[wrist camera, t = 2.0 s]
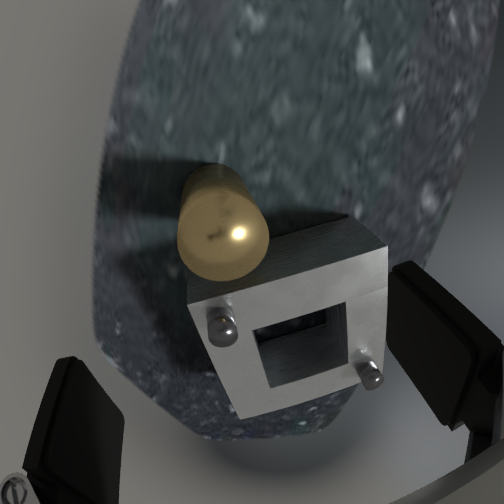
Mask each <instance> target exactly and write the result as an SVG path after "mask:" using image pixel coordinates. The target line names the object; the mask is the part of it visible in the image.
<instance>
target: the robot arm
mask: <svg viewBox="0 0 504 504" xmlns="http://www.w3.org/2000/svg"><path fill="white" fill-rule="evenodd" d="M386 341H387V345H388V348H389V350H390V351H391V352H392V354H393V355H394V357H395V358H396V359H397V361H398V362H399V364H400V365H401V366H402V368H403V369H404V371H405V372H406V373H407V375H408V376H409V378H410V379H411V381H412V382H413V383H414V385H415V386H416V388H417V389H418V391H419V392H420V393H421V395H422V396H423V398H424V399H425V401H426V402H427V404H428V405H429V407H430V408H431V410H432V411H433V412H434V414H435V415H436V417H437V418H438V420H439V421H440V423H441V424H442V425H444V426H446V425H448V426H449V428H450V429H451V431H453V430H455V429H457V428H458V427H460V426H462V425H463V424H465V425H466V426H467V428H468V429H469V431H470V433H469V439H468V445H467V451H466V456H465V461H464V464H463V465H462V466H460V467H458V468H457V469H455V470H453V471H452V472H450V473H448V474H446V475H445V476H443V477H441V478H439V479H437V480H436V481H434V482H432V483H430V484H428V485H426V486H425V487H423V488H421V489H419V490H417V491H415V492H413V493H411V494H409V495H407V496H405V497H403V498H400V499H398V500H396V501H394V502H392V503H390V504H504V346H503V345H502V344H501V340H500V339H499V338H498V337H497V336H496V335H495V334H494V333H493V332H492V331H491V330H490V329H488V327H486V326H485V325H484V324H483V323H482V322H481V321H480V320H479V319H478V318H477V317H476V316H475V315H474V314H473V313H471V312H470V311H469V310H468V309H467V308H466V307H465V306H464V305H463V304H462V303H461V302H459V301H458V300H457V299H456V298H455V297H454V296H453V295H452V294H450V293H449V292H448V291H447V290H446V289H445V288H444V287H443V286H442V285H440V284H439V283H438V282H437V281H436V280H435V279H433V278H432V277H431V276H430V275H429V274H428V273H426V272H425V271H424V270H423V269H422V268H420V267H419V266H418V265H417V264H416V263H414V262H413V261H406V262H404V263H401V264H398V265H395V266H394V267H393V268H392V272H390V273H389V274H388V308H387V334H386ZM123 432H124V416H123V414H122V412H121V411H120V410H119V408H118V407H117V406H116V405H115V404H114V403H113V401H112V400H111V399H110V397H109V396H108V395H107V394H106V392H105V391H104V389H103V388H102V387H101V386H100V384H99V383H98V382H97V380H96V379H95V378H94V376H93V375H92V373H91V372H90V371H89V369H88V368H87V366H86V365H85V364H84V362H83V361H82V360H78V359H77V358H76V357H75V356H71V357H65V358H60V359H58V360H57V361H56V363H55V366H54V368H53V371H52V373H51V376H50V379H49V382H48V385H47V387H46V390H45V393H44V396H43V399H42V402H41V405H40V408H39V411H38V414H37V417H36V420H35V423H34V427H33V430H32V433H31V437H30V440H29V444H28V447H27V451H26V455H25V459H24V463H23V467H22V468H23V469H24V470H25V471H27V477H26V476H25V475H23V474H22V473H12V474H10V475H8V476H6V477H5V478H4V480H3V481H2V482H1V484H0V504H118V503H119V483H120V468H121V453H122V443H123Z"/></svg>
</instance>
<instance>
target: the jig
mask: <svg viewBox="0 0 504 504" xmlns="http://www.w3.org/2000/svg"><path fill="white" fill-rule="evenodd" d="M387 289H388V246H387V245H386V244H385V243H384V242H382V241H381V240H380V239H379V238H378V237H377V236H375V235H374V234H373V233H372V232H371V231H370V230H369V229H367V228H366V227H365V226H364V225H363V224H361V223H360V222H359V221H358V220H357V219H355V218H354V217H353V216H351V217H347V218H343V219H340V220H336V221H332V222H329V223H325V224H321V225H318V226H314V227H310V228H307V229H303V230H300V231H296V232H292V233H289V234H285V235H282V236H278V237H274V238H271V239H269V244H268V248H267V251H266V254H265V256H264V258H263V259H262V261H261V262H260V263H259V265H258V266H257V267H256V268H255V269H253V270H252V271H251V272H250V273H248V274H246V275H244V276H242V277H240V278H237V279H234V280H230V281H213V280H208V279H205V278H203V277H200V276H198V275H197V274H195V273H194V272H192V271H191V270H190V269H189V268H188V267H187V306H188V309H189V311H190V313H191V316H192V318H193V320H194V323H195V325H196V327H197V329H198V332H199V334H200V336H201V339H202V341H203V343H204V345H205V347H206V350H207V352H208V354H209V356H210V358H211V361H212V363H213V365H214V367H215V369H216V371H217V374H218V376H219V378H220V380H221V382H222V384H223V386H224V388H225V390H226V392H227V394H228V396H229V398H230V401H231V403H232V405H233V407H234V409H235V411H236V413H237V415H238V417H239V418H240V419H244V418H248V417H252V416H256V415H260V414H264V413H268V412H271V411H275V410H279V409H282V408H286V407H289V406H292V405H296V404H299V403H302V402H305V401H308V400H312V399H315V398H318V397H321V396H324V395H327V394H330V393H332V392H335V391H338V390H341V389H344V388H346V387H349V386H352V385H355V384H357V383H360V382H362V383H363V385H364V387H365V389H366V390H374V389H376V388H378V387H379V386H380V385H381V384H382V383H383V381H384V377H383V376H382V370H383V359H384V347H385V334H386V316H387ZM324 308H325V316H326V323H324V324H321V325H317V326H314V327H311V328H308V329H305V330H302V331H298V332H295V333H292V334H289V335H285V336H282V337H279V338H275V339H272V340H268V341H265V342H261V343H257V340H256V337H255V333H254V330H255V329H258V328H262V327H265V326H269V325H272V324H275V323H279V322H282V321H286V320H289V319H292V318H295V317H299V316H302V315H305V314H308V313H312V312H315V311H318V310H321V309H324Z"/></svg>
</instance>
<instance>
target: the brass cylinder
mask: <svg viewBox="0 0 504 504" xmlns="http://www.w3.org/2000/svg"><path fill="white" fill-rule="evenodd" d="M268 244H269V231H268V226H267V223H266V221H265V219H264V217H263V215H262V214H261V212H260V210H259V208H258V207H257V205H256V203H255V201H254V200H253V198H252V196H251V194H250V193H249V191H248V189H247V187H246V186H245V184H244V182H243V180H242V179H241V177H240V176H239V175H238V173H237V172H235V171H234V170H233V169H231V168H229V167H227V166H225V165H221V164H209V165H205V166H202V167H200V168H198V169H196V170H195V171H194V172H192V173H191V174H190V176H189V177H188V178H187V180H186V181H185V184H184V186H183V191H182V198H181V207H180V215H179V224H178V234H177V246H178V251H179V254H180V256H181V259H182V260H183V262H184V264H185V265H186V266H187V267H188V268H189V269H190V270H191V271H192V272H194V273H195V274H197V275H198V276H200V277H203V278H205V279H208V280H213V281H230V280H234V279H237V278H240V277H242V276H244V275H246V274H248V273H250V272H251V271H252V270H253V269H255V268H256V267H257V266H258V265H259V263H260V262H261V261H262V259H263V258H264V256H265V254H266V251H267V248H268Z"/></svg>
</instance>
